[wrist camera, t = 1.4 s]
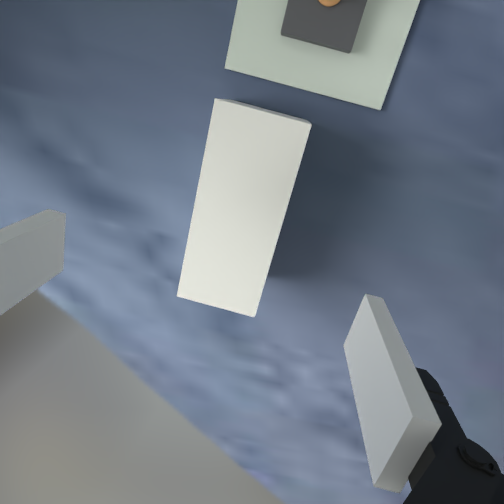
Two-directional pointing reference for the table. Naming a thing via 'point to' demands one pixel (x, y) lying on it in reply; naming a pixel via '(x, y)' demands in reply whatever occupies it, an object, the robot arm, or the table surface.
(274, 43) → the plate
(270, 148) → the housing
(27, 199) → the table surface
